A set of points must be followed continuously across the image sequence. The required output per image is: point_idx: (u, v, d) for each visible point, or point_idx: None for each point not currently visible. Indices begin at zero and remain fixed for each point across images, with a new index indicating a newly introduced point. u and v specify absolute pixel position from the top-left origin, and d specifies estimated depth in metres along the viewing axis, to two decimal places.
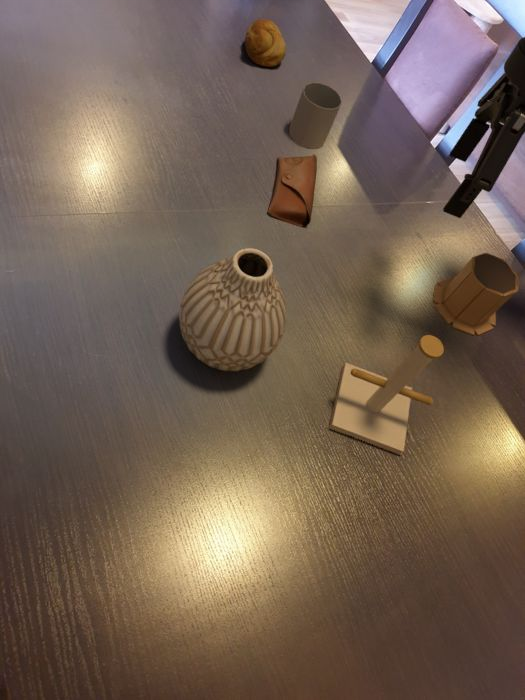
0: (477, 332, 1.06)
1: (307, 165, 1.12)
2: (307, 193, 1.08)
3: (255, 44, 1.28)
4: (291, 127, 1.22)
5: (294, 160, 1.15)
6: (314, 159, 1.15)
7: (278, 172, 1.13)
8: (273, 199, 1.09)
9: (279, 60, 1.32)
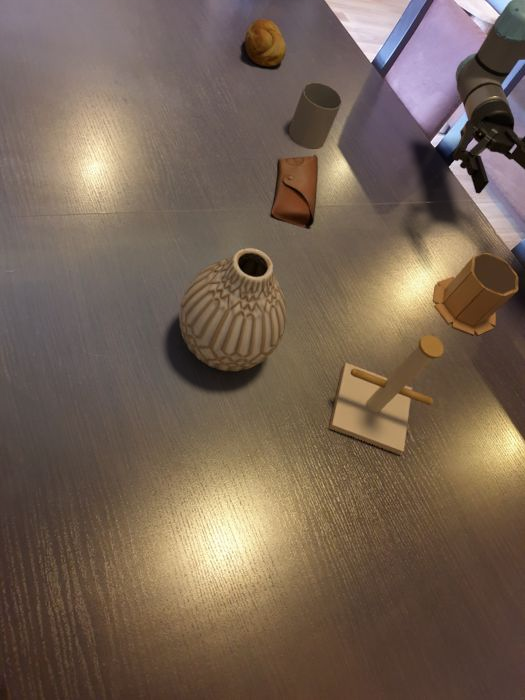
0: (477, 332, 1.06)
1: (308, 166, 1.12)
2: (310, 194, 1.09)
3: (255, 44, 1.28)
4: (291, 127, 1.22)
5: (295, 161, 1.15)
6: (315, 159, 1.15)
7: (280, 173, 1.13)
8: (276, 200, 1.09)
9: (279, 60, 1.32)
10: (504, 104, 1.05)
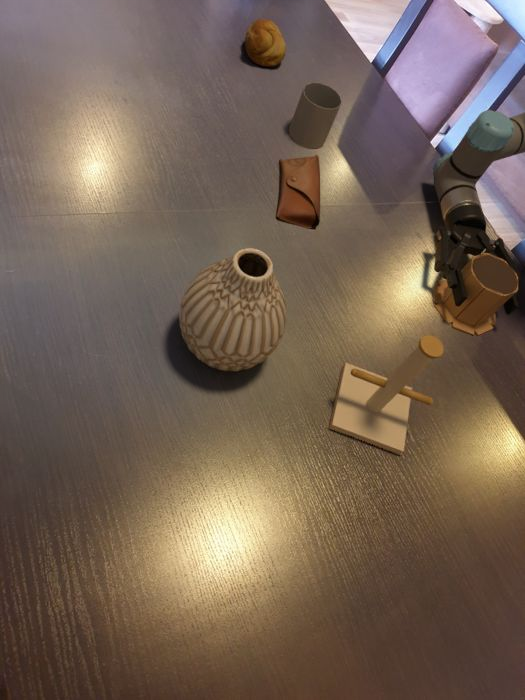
0: (477, 332, 1.06)
1: (311, 166, 1.13)
2: (314, 195, 1.09)
3: (255, 44, 1.28)
4: (291, 127, 1.22)
5: (297, 161, 1.15)
6: (316, 159, 1.15)
7: (282, 175, 1.13)
8: (281, 203, 1.09)
9: (279, 60, 1.32)
10: (476, 208, 1.10)
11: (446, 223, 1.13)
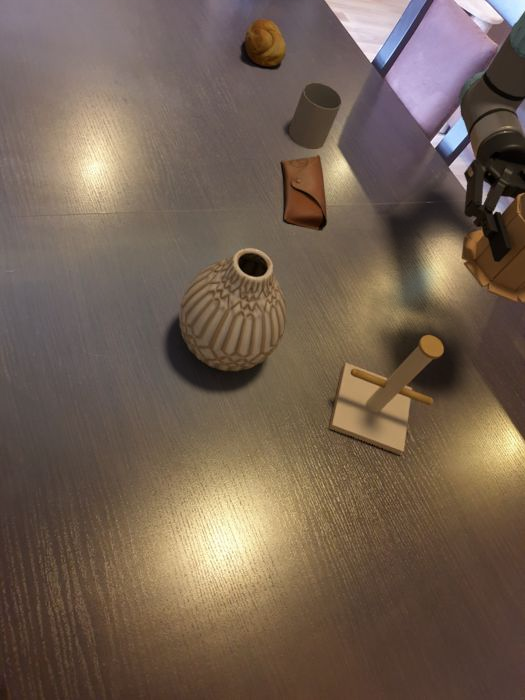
0: (521, 299, 0.79)
1: (314, 167, 1.13)
2: (320, 196, 1.09)
3: (255, 44, 1.28)
4: (291, 127, 1.22)
5: (299, 162, 1.15)
6: (318, 160, 1.15)
7: (286, 176, 1.13)
8: (287, 205, 1.09)
9: (279, 60, 1.32)
10: (519, 136, 0.83)
11: (478, 158, 0.86)
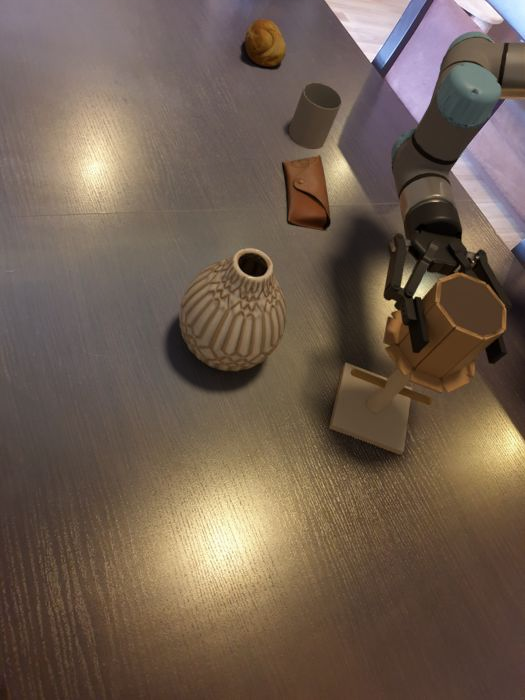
0: (447, 388, 0.72)
1: (316, 167, 1.13)
2: (323, 196, 1.09)
3: (255, 44, 1.28)
4: (291, 127, 1.22)
5: (301, 163, 1.15)
6: (320, 160, 1.15)
7: (288, 177, 1.13)
8: (290, 206, 1.09)
9: (279, 60, 1.32)
10: (448, 206, 0.76)
11: (405, 228, 0.79)
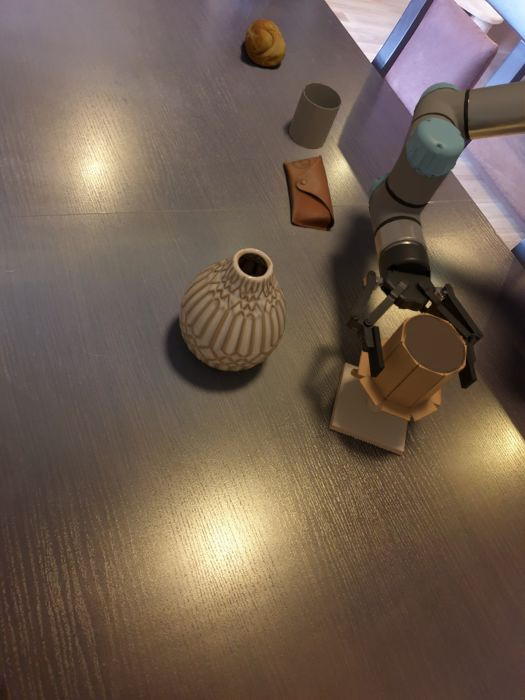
0: (414, 417, 0.79)
1: (317, 168, 1.13)
2: (326, 197, 1.09)
3: (255, 44, 1.28)
4: (291, 127, 1.22)
5: (302, 163, 1.15)
6: (321, 160, 1.15)
7: (290, 178, 1.13)
8: (294, 207, 1.09)
9: (279, 60, 1.32)
10: (417, 248, 0.83)
11: (379, 267, 0.86)
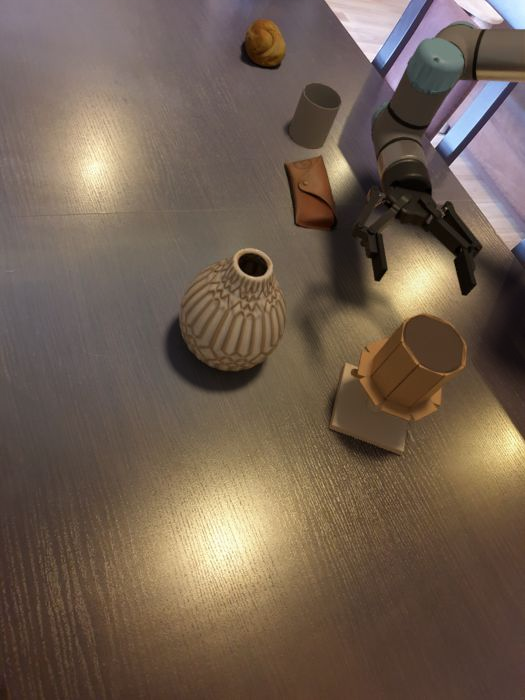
0: (414, 417, 0.79)
1: (319, 168, 1.13)
2: (329, 197, 1.10)
3: (255, 44, 1.28)
4: (291, 127, 1.22)
5: (303, 164, 1.15)
6: (322, 160, 1.15)
7: (292, 179, 1.13)
8: (297, 208, 1.09)
9: (279, 60, 1.32)
10: (418, 165, 0.86)
11: (382, 186, 0.89)
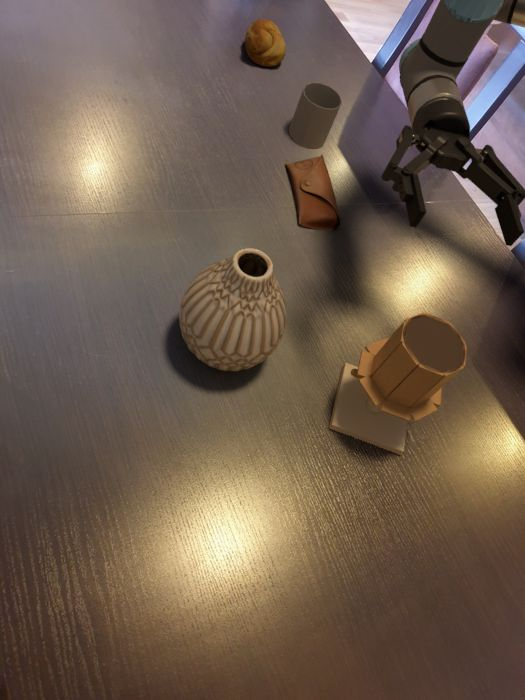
0: (414, 417, 0.79)
1: (320, 168, 1.13)
2: (331, 197, 1.10)
3: (255, 44, 1.28)
4: (291, 127, 1.22)
5: (304, 164, 1.15)
6: (323, 160, 1.15)
7: (293, 180, 1.13)
8: (300, 209, 1.09)
9: (279, 60, 1.32)
10: (456, 104, 0.78)
11: (414, 128, 0.80)
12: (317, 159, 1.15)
